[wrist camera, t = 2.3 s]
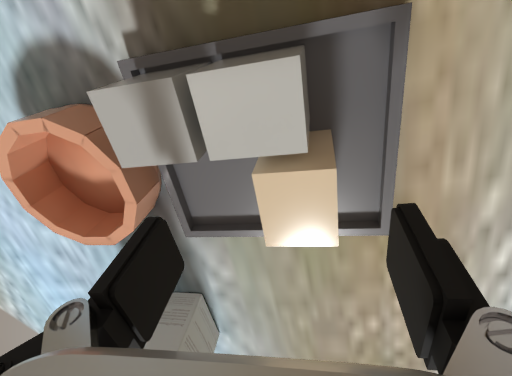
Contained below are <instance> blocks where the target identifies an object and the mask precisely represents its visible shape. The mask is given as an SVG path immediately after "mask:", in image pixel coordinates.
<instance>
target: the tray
mask: <svg viewBox="0 0 512 376" xmlns="http://www.w3.org/2000/svg"><path fill="white" fill-rule="evenodd" d="M411 9H412V3H406V4H401V5H396V6H391V7H386V8H381V9H376V10H371V11H366V12H361V13H356V14H351V15H346V16H341V17H336V18H331V19H325V20H320V21H315V22H310V23H305V24H300V25H295V26H290V27H285V28H280V29H275V30H270V31H265V32H260V33H255V34H250V35H245V36H240V37H235V38H230V39H225V40H220V41H215V42H210V43H205V44H200V45H195V46H190V47H185V48H180V49H175V50H170V51H165V52H160V53H155V54H150V55H145V56H140V57H135V58H130V59H125V60H120V61H117V63H118V65H119V68H120V71H121V73H122V76H123V78H124V80H125V79H128V78H132V77H135V76H138V75H141V74H144V73H149V72H154V71H160V70H165V69H171V68H176V67H182V66H187V65H193V64H198V63H204V62H209V61H211V63H214V62H217V61H219V60H221V59H226V58H232V57H237V56H243V55H248V54H254V53H259V52H265V51H270V50H276V49H281V48H287V47H292V46H298V45H304V44H305V58H306V71H307V85H308V98H309V112H310V125H309V131H319V130H329V129H331V133H332V140H333V147H334V154H335V161H336V168H337V203H338V236H370V235H389V228H390V218H391V210H392V208H393V198H394V188H395V177H396V167H397V156H398V146H399V135H400V125H401V114H402V104H403V93H404V83H405V72H406V62H407V51H408V41H409V30H410V20H411ZM258 158H259V157H251V158H239V159H227V160H215V161H210V159H209V155H208V152H207V151H206V152H205V153H204V155H203V156H202V157H201V158H200V159H199V161H198V162H191V163H179V164H167V165H158V167H159V170H160V172H161V175H162V178H163V180H164V183H165V185H166V188H167V190H168V193H169V195H170V198H171V200H172V203H173V206H174V208H175V211H176V213H177V216H178V218H179V221H180V223H181V226H182V228H183V231H184V234H185V236H186V237H259V236H264V233H263V228H262V223H261V218H260V213H259V208H258V203H257V198H256V193H255V189H254V184H253V179H252V172H253V170H254V167H255V165H256V162H257V160H258Z"/></svg>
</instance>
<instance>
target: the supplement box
mask: <svg viewBox="0 0 512 376" xmlns="http://www.w3.org/2000/svg"><path fill="white" fill-rule="evenodd" d="M218 337H219V332H218V330H217V328H216V325H215V323H214V321H213V318H212V316H211V314H210V312H209V309H208V307H207V305H206V303H205V300H204V298H203V296H202V294H197V293H178V292H173V293H172V295H171V297H170V299H169V302H168V304H167V306H166V308H165V310H164V312H163V314H162V316H161V318H160V321H159V323H158V325H157V327H156V329H155V331H154V333H153V335H152V337H151V339H150V340H149V341H148V342H146V344H145V346H144V348H143V349H152V350H169V351H186V352H201V353H214V350H215V347H216V344H217V340H218Z"/></svg>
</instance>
